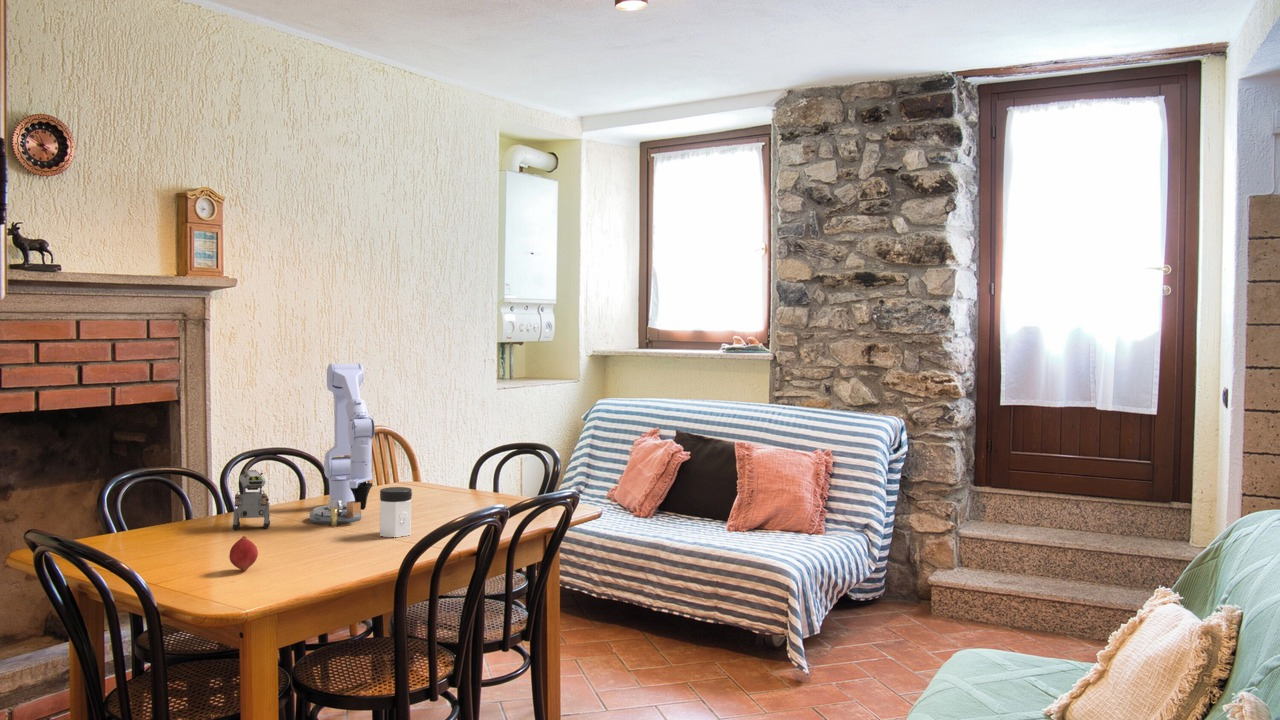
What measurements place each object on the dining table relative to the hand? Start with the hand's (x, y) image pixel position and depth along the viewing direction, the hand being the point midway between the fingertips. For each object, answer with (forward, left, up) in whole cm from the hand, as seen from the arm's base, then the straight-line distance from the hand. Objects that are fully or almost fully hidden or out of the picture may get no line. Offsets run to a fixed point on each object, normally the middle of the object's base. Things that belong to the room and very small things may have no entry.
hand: (360, 509), depth 256 cm
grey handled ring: (-2, -6, -1) cm, 7 cm away
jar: (+14, +14, -4) cm, 20 cm away
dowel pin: (+5, -6, -4) cm, 9 cm away
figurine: (+8, -27, -4) cm, 29 cm away
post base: (-3, -8, -4) cm, 10 cm away
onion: (+53, -9, -4) cm, 54 cm away
